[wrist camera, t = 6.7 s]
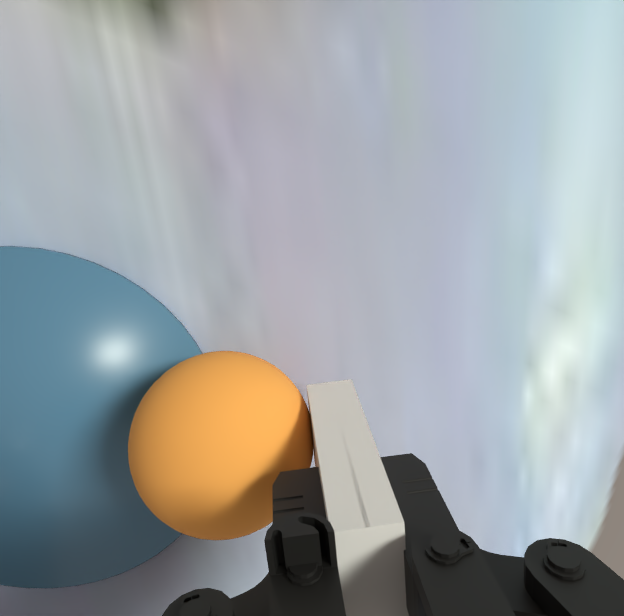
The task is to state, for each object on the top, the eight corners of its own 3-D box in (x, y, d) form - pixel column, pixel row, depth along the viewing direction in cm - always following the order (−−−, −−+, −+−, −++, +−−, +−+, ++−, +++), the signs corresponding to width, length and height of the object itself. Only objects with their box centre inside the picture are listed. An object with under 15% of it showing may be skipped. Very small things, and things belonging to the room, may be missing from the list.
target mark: (92, 635, 20) (90, 640, 20) (-246, 468, 17) (-252, 472, 17) (296, 396, 18) (297, 399, 18) (-43, 157, 15) (-47, 157, 15)
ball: (289, 496, 19) (187, 613, 14) (189, 390, 20) (64, 469, 15) (376, 414, 16) (282, 530, 11) (254, 294, 17) (122, 357, 12)
